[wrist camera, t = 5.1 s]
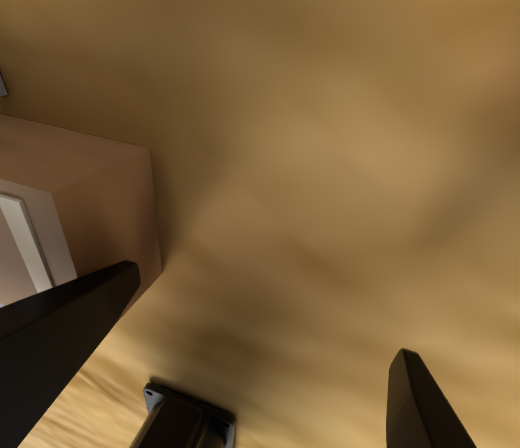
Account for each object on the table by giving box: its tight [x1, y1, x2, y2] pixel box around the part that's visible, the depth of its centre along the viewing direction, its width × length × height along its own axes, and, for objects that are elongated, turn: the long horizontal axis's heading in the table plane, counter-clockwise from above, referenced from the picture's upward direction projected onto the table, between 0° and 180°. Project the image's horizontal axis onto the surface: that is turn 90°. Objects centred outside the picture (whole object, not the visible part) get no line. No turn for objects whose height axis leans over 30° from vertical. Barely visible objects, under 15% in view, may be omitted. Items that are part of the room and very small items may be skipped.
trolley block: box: [0, 114, 162, 323], centre depth 11 cm, size 6×7×4 cm
